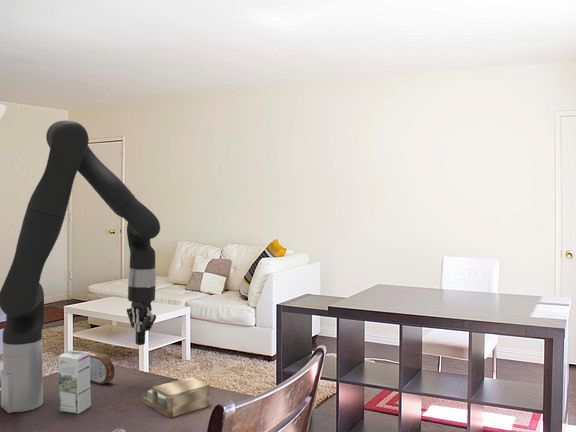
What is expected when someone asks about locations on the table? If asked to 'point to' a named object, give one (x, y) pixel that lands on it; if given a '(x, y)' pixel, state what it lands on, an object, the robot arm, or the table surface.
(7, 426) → the table surface
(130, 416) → the table surface
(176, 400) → the beige forked block
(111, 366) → the tin
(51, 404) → the table surface
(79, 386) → the syrup box
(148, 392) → the panel
